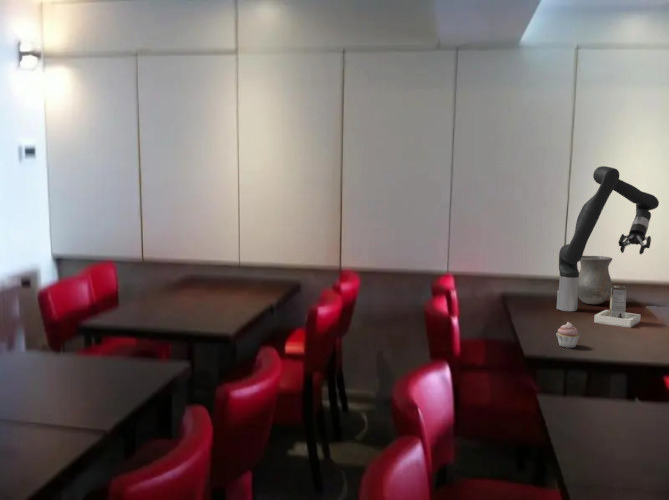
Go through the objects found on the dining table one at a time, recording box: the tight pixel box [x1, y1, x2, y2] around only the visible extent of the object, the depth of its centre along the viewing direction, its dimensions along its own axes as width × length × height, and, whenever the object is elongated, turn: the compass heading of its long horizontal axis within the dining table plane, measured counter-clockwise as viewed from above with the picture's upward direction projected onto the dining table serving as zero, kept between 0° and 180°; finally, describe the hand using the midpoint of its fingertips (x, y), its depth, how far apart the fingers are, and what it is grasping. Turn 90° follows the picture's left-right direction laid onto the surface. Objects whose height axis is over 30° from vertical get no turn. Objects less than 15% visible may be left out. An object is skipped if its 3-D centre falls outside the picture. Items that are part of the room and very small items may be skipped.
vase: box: [578, 255, 613, 305], centre depth 353 cm, size 20×19×25 cm
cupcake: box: [555, 321, 581, 349], centre depth 268 cm, size 9×9×10 cm
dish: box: [593, 309, 641, 329], centre depth 311 cm, size 16×16×4 cm
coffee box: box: [609, 284, 628, 319], centre depth 310 cm, size 9×6×16 cm
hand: (631, 252), depth 326 cm, fingers open, 8 cm apart
